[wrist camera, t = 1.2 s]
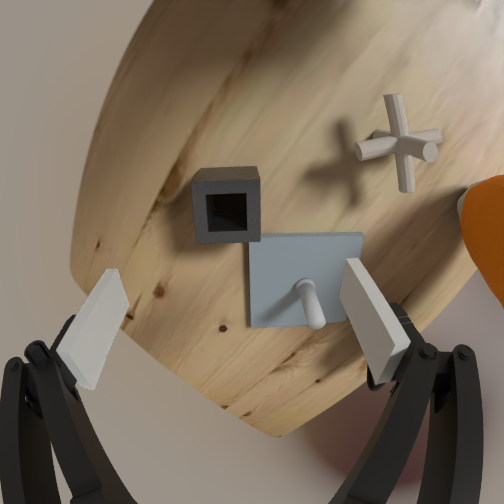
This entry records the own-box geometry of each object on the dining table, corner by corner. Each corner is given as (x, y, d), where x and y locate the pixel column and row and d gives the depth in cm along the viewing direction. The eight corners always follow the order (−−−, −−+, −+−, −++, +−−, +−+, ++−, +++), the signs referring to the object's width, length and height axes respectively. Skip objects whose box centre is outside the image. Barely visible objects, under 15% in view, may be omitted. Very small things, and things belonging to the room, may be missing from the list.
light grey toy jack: (349, 186, 30) (389, 219, 21) (329, 101, 25) (370, 99, 16) (417, 169, 29) (469, 195, 20) (405, 91, 24) (460, 92, 15)
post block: (248, 234, 32) (251, 271, 25) (361, 232, 32) (389, 265, 25) (250, 323, 39) (253, 366, 32) (343, 317, 39) (360, 356, 32)
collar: (200, 168, 28) (190, 182, 23) (256, 166, 28) (260, 179, 23) (204, 220, 31) (196, 244, 26) (257, 218, 31) (260, 241, 26)
